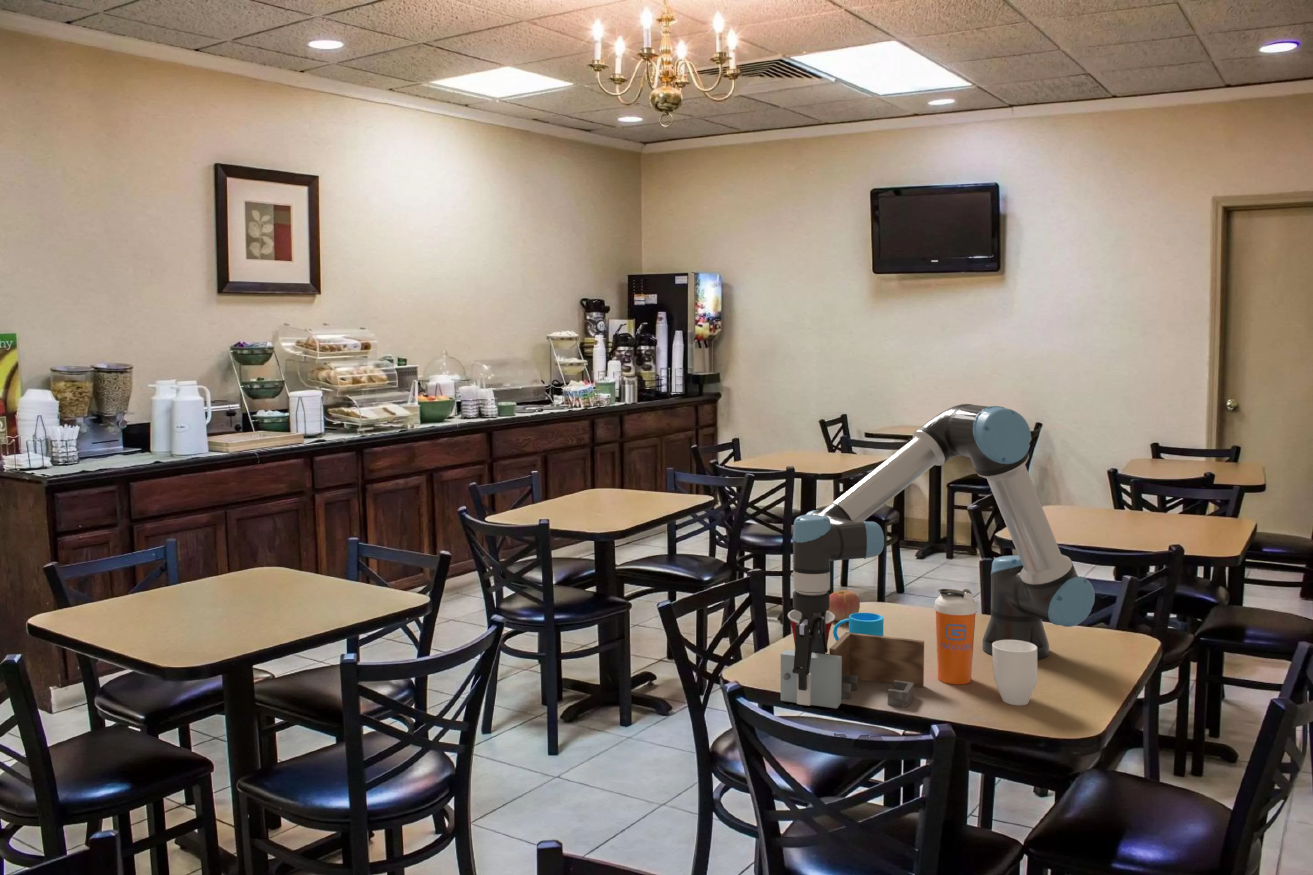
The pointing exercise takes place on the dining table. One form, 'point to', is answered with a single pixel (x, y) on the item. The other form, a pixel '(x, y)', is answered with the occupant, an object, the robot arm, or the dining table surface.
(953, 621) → the shaker bottle
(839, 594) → the apple
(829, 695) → the door
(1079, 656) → the dining table surface
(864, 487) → the robot arm
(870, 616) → the mug
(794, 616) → the plastic cup
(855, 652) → the cabinet
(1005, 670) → the mug
